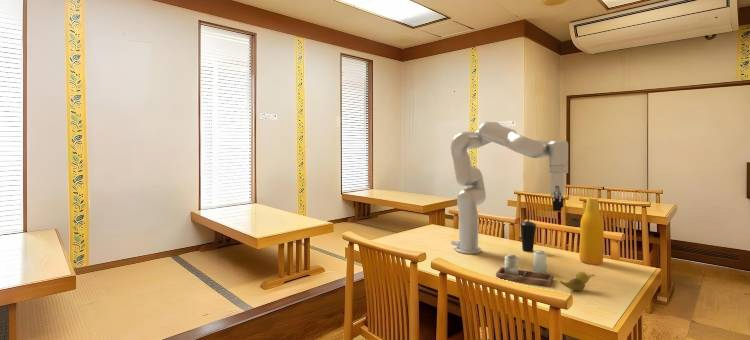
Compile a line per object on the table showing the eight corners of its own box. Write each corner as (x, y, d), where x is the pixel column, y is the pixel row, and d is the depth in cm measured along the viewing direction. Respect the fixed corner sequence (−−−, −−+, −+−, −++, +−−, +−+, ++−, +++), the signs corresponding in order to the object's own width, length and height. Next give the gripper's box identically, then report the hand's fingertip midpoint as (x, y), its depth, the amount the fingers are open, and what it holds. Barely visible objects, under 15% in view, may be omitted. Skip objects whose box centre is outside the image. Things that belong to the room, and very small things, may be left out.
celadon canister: (532, 272, 162) (532, 251, 161) (534, 269, 166) (534, 248, 166) (545, 274, 159) (545, 253, 159) (547, 270, 164) (547, 250, 163)
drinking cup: (537, 253, 190) (538, 212, 188) (521, 252, 191) (521, 212, 190) (534, 248, 197) (534, 210, 196) (518, 248, 199) (518, 209, 197)
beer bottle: (581, 257, 181) (582, 196, 179) (603, 261, 176) (605, 197, 174) (578, 262, 174) (579, 198, 172) (601, 266, 168) (603, 200, 166)
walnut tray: (496, 278, 156) (496, 256, 155) (501, 271, 164) (501, 251, 163) (550, 286, 146) (550, 264, 145) (553, 279, 153) (553, 257, 153)
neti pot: (599, 290, 142) (599, 272, 141) (564, 294, 138) (564, 276, 138) (589, 285, 146) (590, 269, 146) (555, 290, 143) (555, 272, 142)
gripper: (550, 168, 175) (550, 205, 176) (546, 170, 160) (546, 211, 161) (569, 168, 171) (569, 206, 172) (566, 170, 156) (566, 212, 157)
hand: (558, 209), depth 166 cm, fingers open, 9 cm apart
